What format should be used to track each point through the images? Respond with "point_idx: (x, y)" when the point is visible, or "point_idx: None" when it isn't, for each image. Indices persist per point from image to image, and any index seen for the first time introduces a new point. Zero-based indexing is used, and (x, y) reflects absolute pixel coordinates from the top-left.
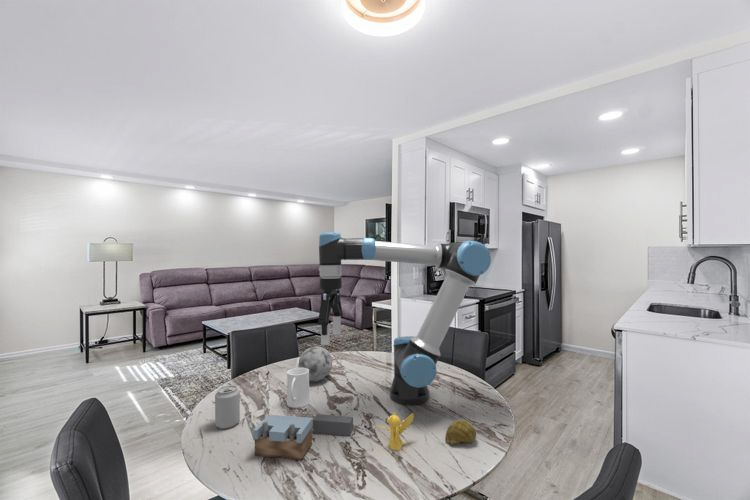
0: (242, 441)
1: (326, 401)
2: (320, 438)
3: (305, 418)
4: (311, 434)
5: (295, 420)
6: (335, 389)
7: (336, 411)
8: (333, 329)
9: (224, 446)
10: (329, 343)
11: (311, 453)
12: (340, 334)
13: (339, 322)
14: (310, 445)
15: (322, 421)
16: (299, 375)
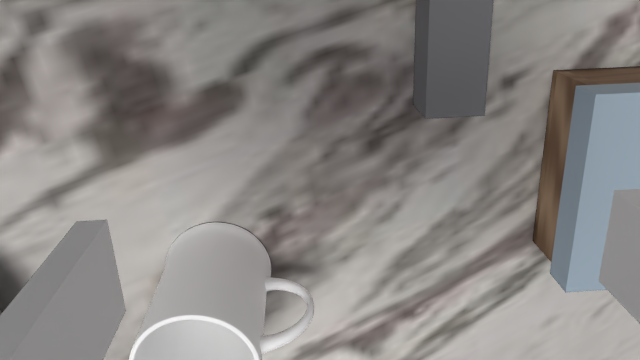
0: (539, 314)
1: (168, 152)
2: (505, 53)
3: (601, 125)
4: (579, 78)
5: (619, 161)
6: (13, 158)
7: (259, 66)
8: (104, 351)
9: (569, 347)
10: (635, 195)
11: (611, 48)
12: (98, 221)
13: (30, 344)
14: (572, 70)
15: (487, 68)
16: (248, 337)
